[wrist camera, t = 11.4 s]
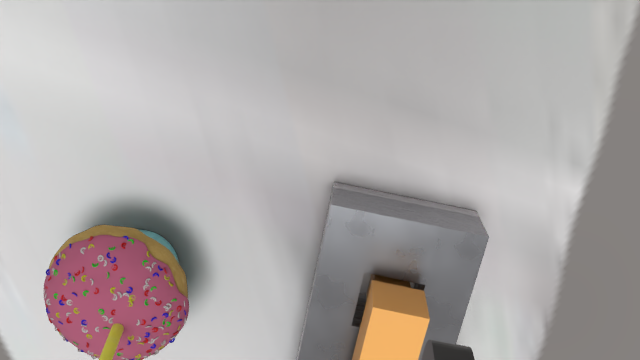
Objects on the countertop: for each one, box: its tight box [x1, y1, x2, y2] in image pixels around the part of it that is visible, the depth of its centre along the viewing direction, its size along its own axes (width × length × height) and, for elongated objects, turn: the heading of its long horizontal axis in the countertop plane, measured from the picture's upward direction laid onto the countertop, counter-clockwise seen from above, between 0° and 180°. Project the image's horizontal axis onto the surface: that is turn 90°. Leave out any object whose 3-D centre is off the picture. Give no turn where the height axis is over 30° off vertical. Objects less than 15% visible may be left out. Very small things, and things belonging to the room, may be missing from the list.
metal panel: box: [296, 182, 489, 360], centre depth 39 cm, size 18×9×4 cm, turn 169°
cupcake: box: [44, 225, 189, 360], centre depth 35 cm, size 9×8×12 cm
